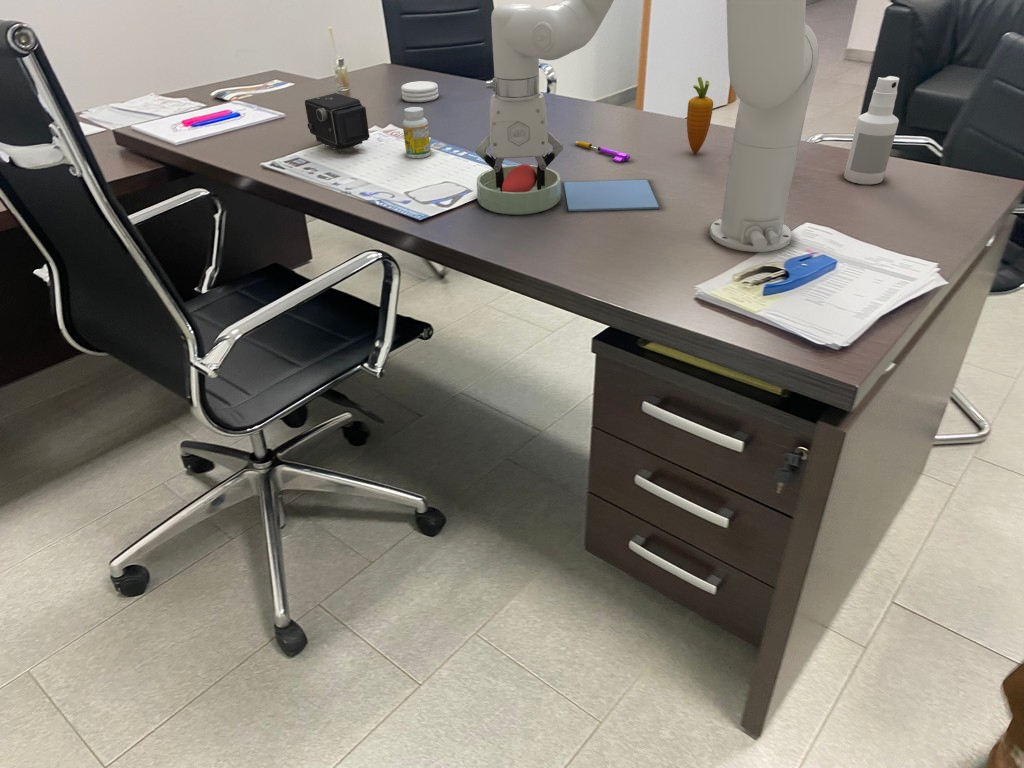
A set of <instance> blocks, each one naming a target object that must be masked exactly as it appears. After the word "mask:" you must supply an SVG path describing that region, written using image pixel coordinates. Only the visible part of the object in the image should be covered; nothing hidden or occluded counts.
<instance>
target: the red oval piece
mask: <svg viewBox="0 0 1024 768" xmlns="http://www.w3.org/2000/svg"><path fill="white" fill-rule="evenodd" d="M517 165H518V166H516V167H515V168H514V169H512V170H511V171H510V172H509V173H508V175H507V176H506V178H505V180H504V182H503V185H502V192H529V191H530V190H531V189H532V188H533V187H534V186H535V184H536V181H537V174H536V171H535V170H534V168H532V167H531V166H530V165H531V164H526V163H521V164H517Z"/></svg>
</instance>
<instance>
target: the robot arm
mask: <svg viewBox="0 0 1024 768" xmlns="http://www.w3.org/2000/svg"><path fill="white" fill-rule="evenodd" d="M614 1H615V0H562V1H559V2H556V3H554V4H551V5H548V6H545V7H540V8H536V7H535V6H534V5H533V4H529V3H520V2H519V3H506V4H500V5H498V6H495V8H494V9H493V10H492V11H491V17H490V19H491V21H490V22H491V41H492V59H493V77H492V79H490V80H486V81H485V87H486V90H490V91H493V92H494V93H493V94H492V95H491V97H490V102H489V116H488V118H489V119H488V120H489V121H488V122H489V124H488V125H489V132H488V134H487V135H486V136H485V137H484V138H483V140H482V141H481V142H480V143H479V144H478V145H477V146H476V147H475V153H476V155H478V156H479V157H480V158H481V160H483V161H484V162H485V163H486V164H487V165H488V166H489V167H490V168H491V169H494V171H495V172H496V188H500V191H502V185H503V182H504V169H503V168H502V166H503V164H504V160H505V159H519V158H520V159H521V158H534V159H535V161H536V162H537V166H538V167H537V190H540V189H541V186H545V169H546V168H548V166H549V165H550V164H551V163H552V162H553V161H554V160H555V158H556V157H557V156H558V155H559V154H560V153H561V152H562V151H563V150H564V145H563V143H562V142H561V141H560V140H559V139H558V138H556V136H555V135H554V134H552V132H550V131H549V128H548V127H549V126H548V125H549V124H548V113H547V105H546V99H545V96H544V94H543V93H542V92H541V91H540V60H543V61H555V60H558V59H562V58H564V57H565V56H568V55H569V54H571V53H573V52H575V51H578V50H580V49H581V48H584V47H585V46H586V45H587V44H589V42H590V41H592V39H593V38H594V37H595V35H596V33H597V31H598V30H599V28H600V26H601V24H602V23H603V21H604V19H605V17H606V16H607V14H608V13H609V10H610V9H611V8H612V5H613V3H614ZM806 8H807V0H726V32H727V33H726V34H727V65H728V76H729V82H730V85H731V88H732V91H733V92H734V94H735V96H736V97H737V98H738V99H739V103H738V109H737V113H736V120H735V126H734V132H733V137H732V144H731V150H730V151H731V152H730V159H729V166H728V173H727V179H726V185H725V193H724V199H723V205H722V206H723V208H722V214H721V218H719V219H716V220H715V221H713V222H712V223H711V225H710V227H709V235H710V237H711V239H713V241H714V242H715V243H717V244H719V245H721V246H723V247H725V248H728V249H731V250H736V251H741V252H748V253H768V252H774V251H778V250H780V249H783V248H785V247H787V246H788V245H789V244H790V243H791V241H792V236H793V233H792V229H790V228H789V226H788V225H786V224H785V218H786V213H787V208H788V204H789V199H790V194H791V190H792V189H791V188H792V184H793V178H794V174H795V167H796V163H797V157H798V152H799V149H800V143H801V140H802V133H803V130H804V125H805V119H806V115H807V111H808V105H809V102H810V97H811V93H812V90H813V85H814V82H815V78H816V73H817V68H818V64H819V57H820V50H819V42H818V39H817V36H816V33H815V32H814V30H813V29H812V28H811V26H809V25H808V23H806V11H807V10H806ZM549 145H551V147H552V148H551V150H549ZM488 148H489V149H490V153H489V152H488V151H487V149H488ZM548 150H549V151H548Z"/></svg>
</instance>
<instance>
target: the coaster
mask: <svg viewBox="0 0 1024 768" xmlns="http://www.w3.org/2000/svg"><path fill="white" fill-rule="evenodd" d="M400 90H401V95H402V96H401V99H402V100H403V101H405V102H409V103H426V102H431V101H434V100H437V99H438V98H439V89H438V83H436V82H434V81H428V80H419V81H418V80H417V81H416V80H415V81H410V82H407V83H403V84H402V85H401V87H400Z"/></svg>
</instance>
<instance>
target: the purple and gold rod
mask: <svg viewBox="0 0 1024 768" xmlns="http://www.w3.org/2000/svg"><path fill="white" fill-rule="evenodd" d="M574 143H575V145H578V146H580V147H583V148H585V149H588V150H591V149H596V150H597V151H598V152H599V153H602V154H606V155H609V156H613V157H614V158H612V161H613V162H616V163H619V164H620V163H622V162H627V161H629V160H630V159H631V156H630V154H627V153H624V152H621V151H616V150H614V149H610V148H606V147H603V146H598V147H596V146H593V144H592V143H590V142H585V141H582V140H576V141H575V142H574Z"/></svg>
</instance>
